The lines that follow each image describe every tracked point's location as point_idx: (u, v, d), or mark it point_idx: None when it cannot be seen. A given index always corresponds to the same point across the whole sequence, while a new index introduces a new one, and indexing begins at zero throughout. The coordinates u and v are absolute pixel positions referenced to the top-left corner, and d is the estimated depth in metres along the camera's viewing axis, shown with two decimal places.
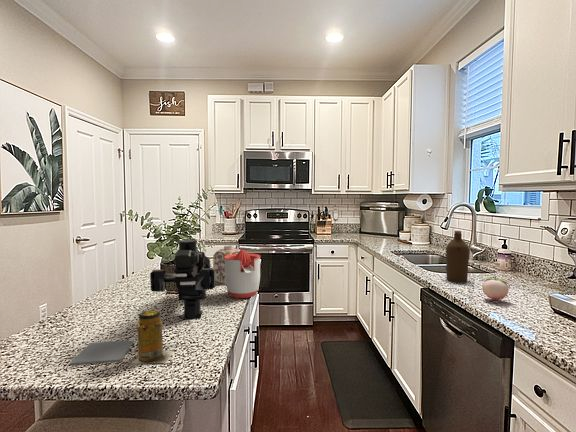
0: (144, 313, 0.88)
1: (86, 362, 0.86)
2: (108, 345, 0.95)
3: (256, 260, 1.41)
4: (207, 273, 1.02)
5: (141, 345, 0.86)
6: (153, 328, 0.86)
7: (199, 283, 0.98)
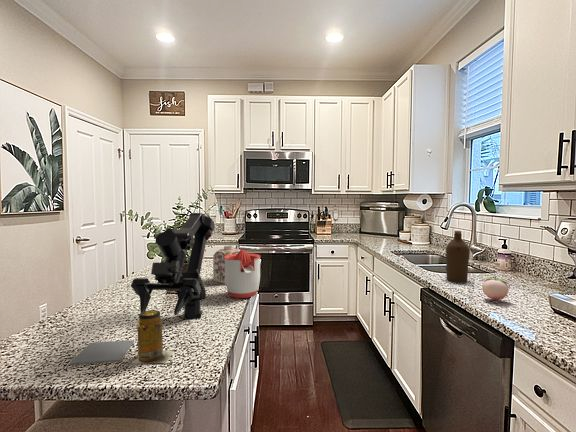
0: (144, 313, 0.88)
1: (86, 362, 0.86)
2: (108, 345, 0.95)
3: (256, 260, 1.41)
4: (188, 289, 0.94)
5: (141, 345, 0.86)
6: (152, 328, 0.86)
7: (180, 305, 0.93)
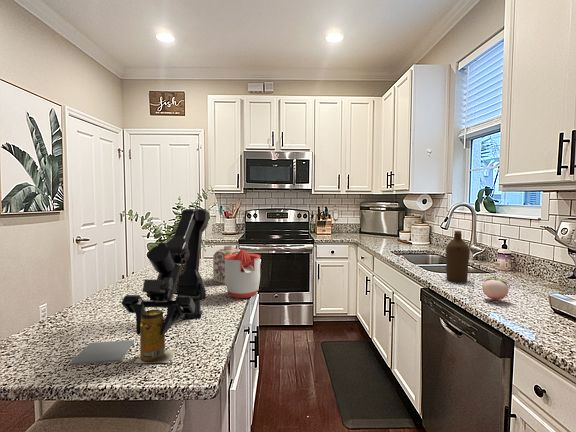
0: (147, 312, 0.88)
1: (86, 362, 0.86)
2: (108, 345, 0.95)
3: (256, 260, 1.41)
4: (176, 307, 0.90)
5: (144, 344, 0.86)
6: (156, 327, 0.86)
7: (167, 324, 0.88)
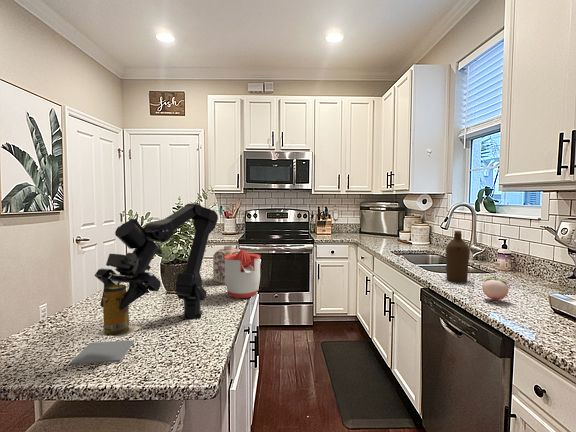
0: (110, 286, 0.90)
1: (86, 362, 0.86)
2: (108, 345, 0.95)
3: (256, 260, 1.41)
4: (137, 283, 0.89)
5: (104, 317, 0.88)
6: (114, 301, 0.87)
7: (127, 299, 0.88)
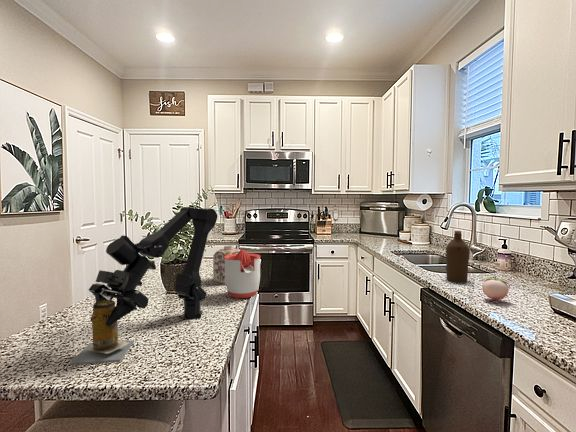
0: (99, 302, 0.92)
1: (86, 362, 0.86)
2: None
3: (256, 260, 1.41)
4: (123, 301, 0.90)
5: (92, 332, 0.90)
6: (101, 317, 0.89)
7: (114, 316, 0.90)
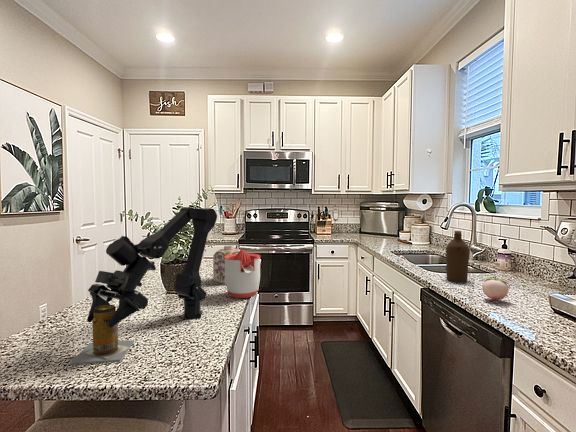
0: (100, 307, 0.92)
1: (86, 362, 0.86)
2: None
3: (256, 260, 1.41)
4: (126, 302, 0.89)
5: (93, 337, 0.90)
6: (101, 322, 0.89)
7: (116, 317, 0.89)
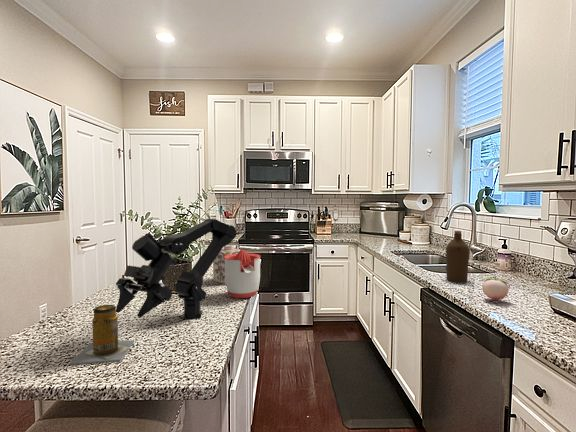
0: (100, 307, 0.92)
1: (86, 362, 0.86)
2: None
3: (256, 260, 1.41)
4: (153, 294, 0.97)
5: (93, 337, 0.90)
6: (101, 322, 0.89)
7: (144, 308, 0.97)
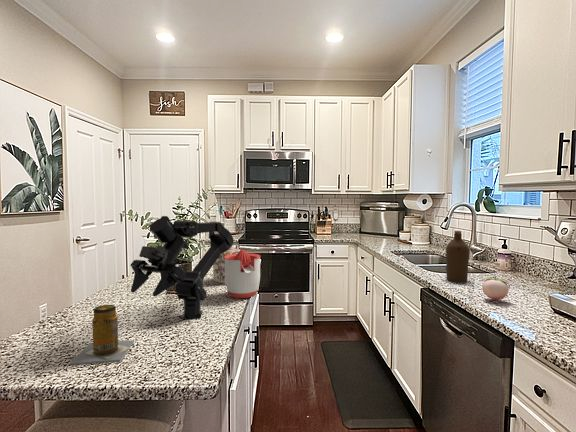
0: (100, 307, 0.92)
1: (86, 362, 0.86)
2: None
3: (256, 260, 1.41)
4: (168, 273, 0.99)
5: (93, 337, 0.90)
6: (101, 322, 0.89)
7: (160, 287, 0.99)
